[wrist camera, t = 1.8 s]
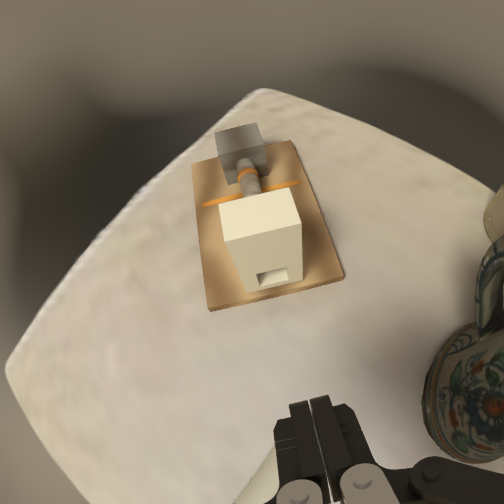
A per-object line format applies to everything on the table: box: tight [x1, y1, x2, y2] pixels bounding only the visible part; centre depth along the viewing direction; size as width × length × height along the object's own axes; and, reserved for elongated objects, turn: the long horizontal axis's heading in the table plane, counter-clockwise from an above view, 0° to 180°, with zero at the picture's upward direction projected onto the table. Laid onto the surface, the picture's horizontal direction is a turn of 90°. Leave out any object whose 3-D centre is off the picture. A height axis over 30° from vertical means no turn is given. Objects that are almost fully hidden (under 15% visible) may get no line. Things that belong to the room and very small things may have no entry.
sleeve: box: [218, 187, 303, 293], centre depth 31 cm, size 6×4×11 cm, turn 101°
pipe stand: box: [192, 123, 344, 312], centre depth 40 cm, size 16×24×7 cm, turn 11°
